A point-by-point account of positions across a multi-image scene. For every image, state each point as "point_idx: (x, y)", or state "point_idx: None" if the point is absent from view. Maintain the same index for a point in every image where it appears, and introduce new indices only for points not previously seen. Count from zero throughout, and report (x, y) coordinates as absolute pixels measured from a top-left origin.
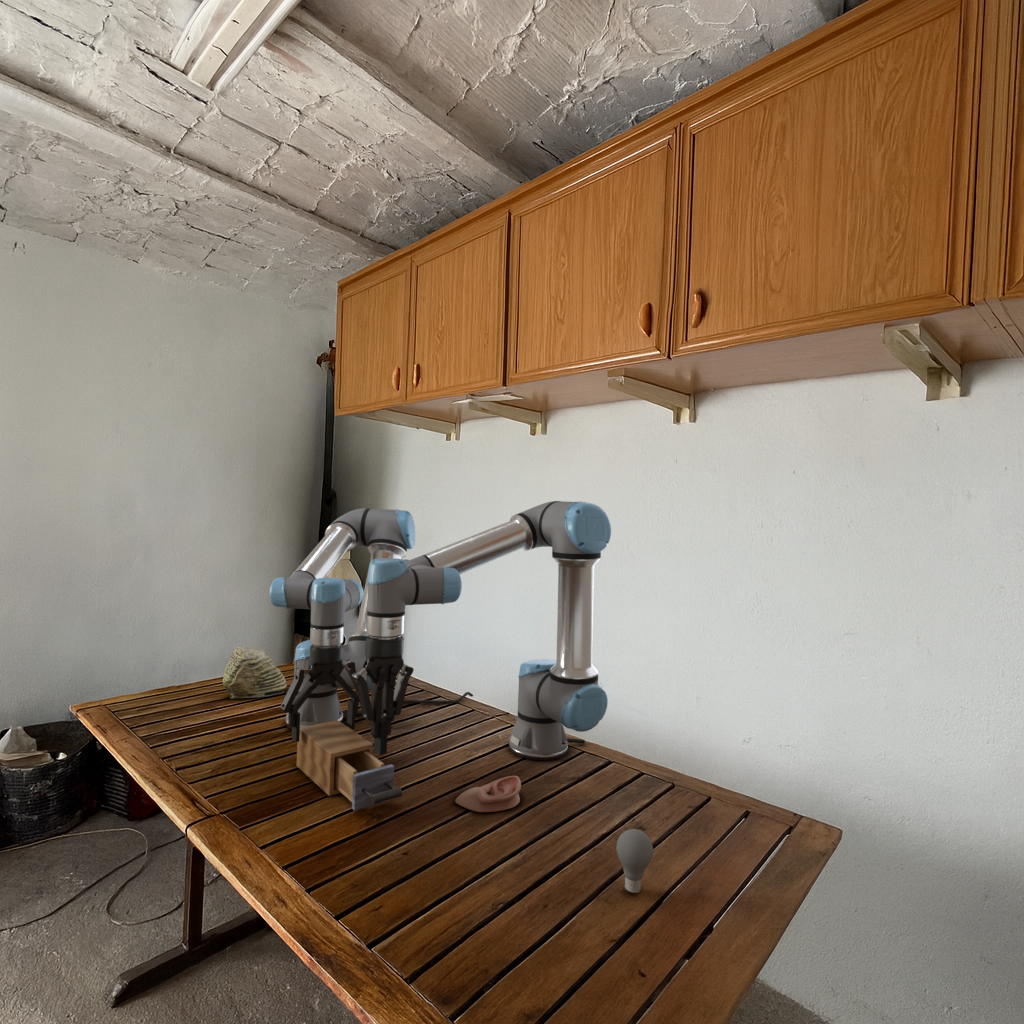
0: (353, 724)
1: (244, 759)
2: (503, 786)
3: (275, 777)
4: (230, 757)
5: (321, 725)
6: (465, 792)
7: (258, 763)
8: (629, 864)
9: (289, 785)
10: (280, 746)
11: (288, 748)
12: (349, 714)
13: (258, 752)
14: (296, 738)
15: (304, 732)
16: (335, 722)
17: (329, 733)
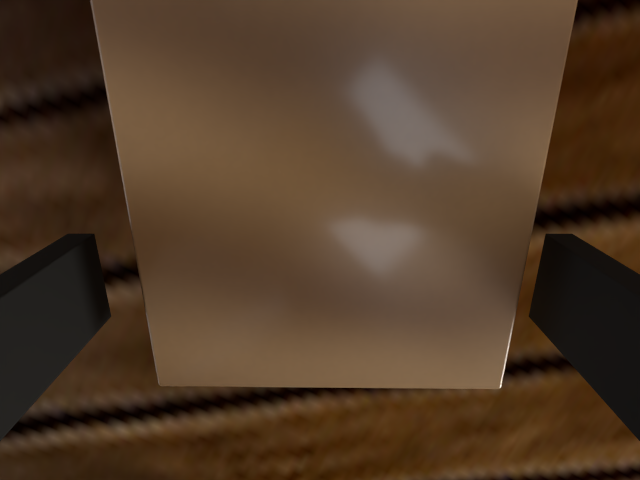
0: (56, 250)
1: (561, 423)
2: None
3: (567, 196)
4: (589, 461)
5: (323, 345)
6: None
7: (541, 366)
8: None
9: (569, 65)
10: (390, 461)
11: (372, 432)
12: (35, 345)
13: (485, 453)
14: (586, 246)
15: (519, 276)
16: (193, 347)
17: (346, 131)
